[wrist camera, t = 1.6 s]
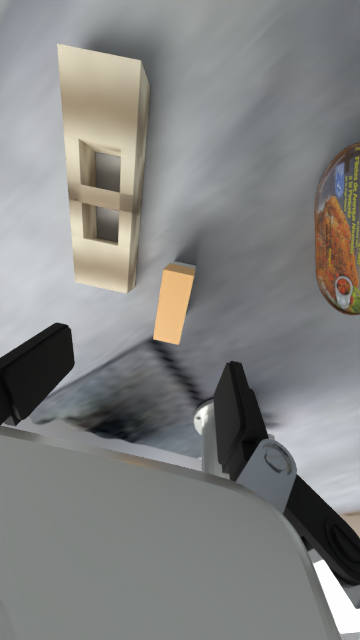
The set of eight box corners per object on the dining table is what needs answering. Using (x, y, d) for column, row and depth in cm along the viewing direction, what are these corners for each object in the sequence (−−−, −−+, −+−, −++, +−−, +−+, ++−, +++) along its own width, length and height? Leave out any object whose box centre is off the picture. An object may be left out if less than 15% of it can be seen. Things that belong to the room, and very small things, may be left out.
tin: (313, 166, 18) (391, 119, 11) (349, 152, 18) (459, 92, 10) (315, 300, 24) (367, 331, 17) (342, 294, 23) (409, 323, 16)
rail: (79, 73, 17) (57, 43, 15) (150, 87, 17) (140, 60, 14) (88, 277, 26) (75, 282, 23) (134, 287, 26) (127, 293, 23)
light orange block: (174, 259, 24) (163, 269, 17) (196, 264, 24) (194, 276, 17) (165, 313, 27) (153, 339, 21) (184, 317, 27) (178, 344, 21)
